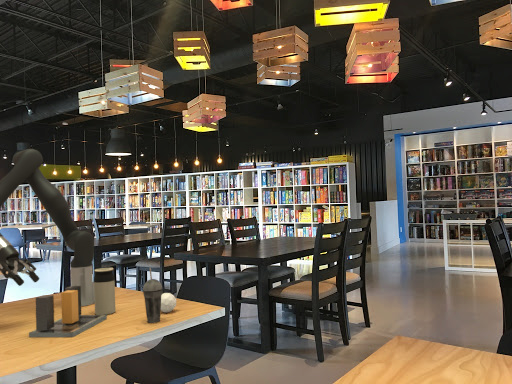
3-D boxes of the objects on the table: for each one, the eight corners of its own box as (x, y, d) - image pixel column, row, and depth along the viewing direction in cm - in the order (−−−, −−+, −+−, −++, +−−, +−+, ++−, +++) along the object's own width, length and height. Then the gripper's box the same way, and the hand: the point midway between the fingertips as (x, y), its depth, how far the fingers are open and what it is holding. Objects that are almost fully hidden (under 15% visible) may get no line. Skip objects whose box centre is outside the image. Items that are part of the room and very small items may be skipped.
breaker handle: (68, 320, 156) (67, 290, 156) (78, 320, 155) (77, 290, 155) (62, 323, 152) (61, 292, 152) (72, 323, 151) (71, 292, 151)
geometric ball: (167, 317, 172) (172, 299, 177) (177, 313, 167) (181, 294, 172) (150, 311, 169) (156, 292, 174) (160, 306, 164) (166, 287, 169)
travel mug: (108, 315, 168) (107, 270, 169) (90, 315, 170) (89, 270, 171) (119, 310, 176) (117, 267, 177) (101, 310, 178) (100, 267, 178)
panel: (68, 319, 166) (67, 285, 166) (106, 318, 163) (105, 285, 164) (29, 337, 143) (28, 298, 143) (72, 337, 141) (71, 298, 141)
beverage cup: (167, 319, 159) (165, 265, 160) (156, 324, 152) (155, 268, 153) (150, 318, 161) (149, 265, 162) (139, 323, 154) (137, 268, 155)
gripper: (-5, 245, 151) (23, 277, 149) (22, 243, 165) (48, 272, 163) (-19, 260, 152) (9, 292, 149) (9, 256, 166) (35, 286, 163)
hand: (29, 282), depth 156 cm, fingers open, 8 cm apart
